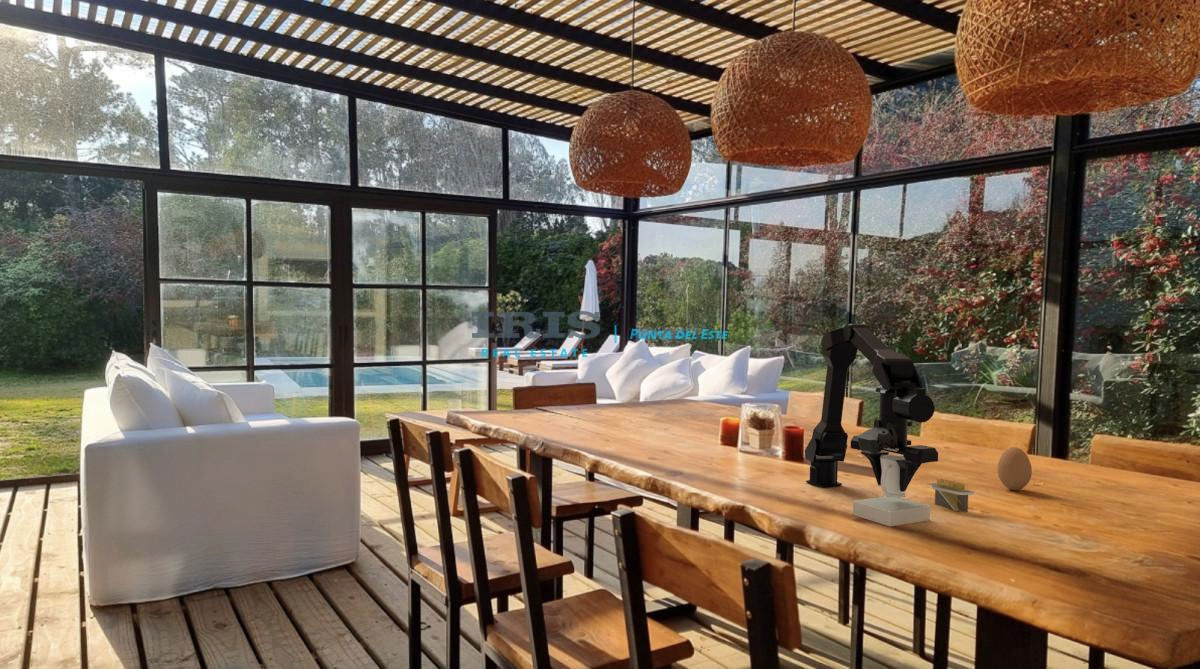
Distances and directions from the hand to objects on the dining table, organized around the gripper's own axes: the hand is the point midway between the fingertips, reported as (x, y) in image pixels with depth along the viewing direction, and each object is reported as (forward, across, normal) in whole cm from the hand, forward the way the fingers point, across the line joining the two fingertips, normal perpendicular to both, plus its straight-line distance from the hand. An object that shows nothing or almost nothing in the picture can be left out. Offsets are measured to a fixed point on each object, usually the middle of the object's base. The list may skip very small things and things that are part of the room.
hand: (891, 488), depth 159 cm
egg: (+7, -6, +51) cm, 52 cm away
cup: (+2, 0, 0) cm, 2 cm away
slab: (+6, 0, 0) cm, 6 cm away
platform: (+7, 0, +19) cm, 20 cm away
